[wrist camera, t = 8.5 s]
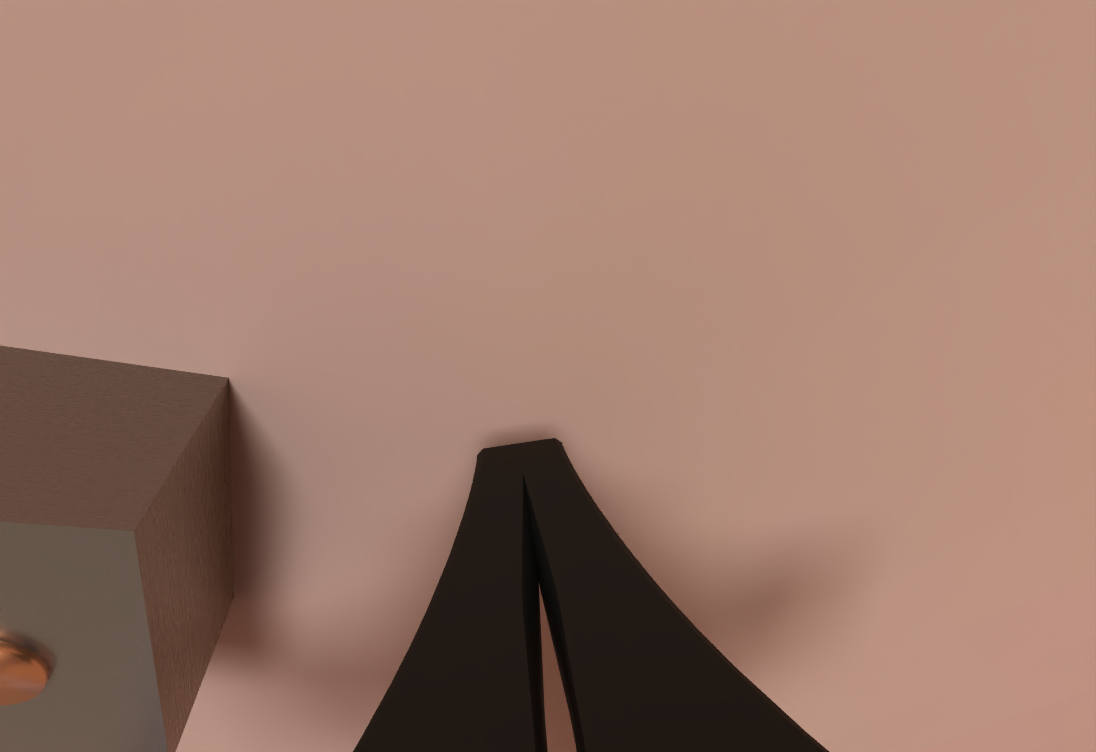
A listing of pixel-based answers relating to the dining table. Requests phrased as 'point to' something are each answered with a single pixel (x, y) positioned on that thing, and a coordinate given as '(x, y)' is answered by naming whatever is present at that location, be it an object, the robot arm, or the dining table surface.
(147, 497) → the link block
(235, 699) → the dining table surface
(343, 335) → the dining table surface
